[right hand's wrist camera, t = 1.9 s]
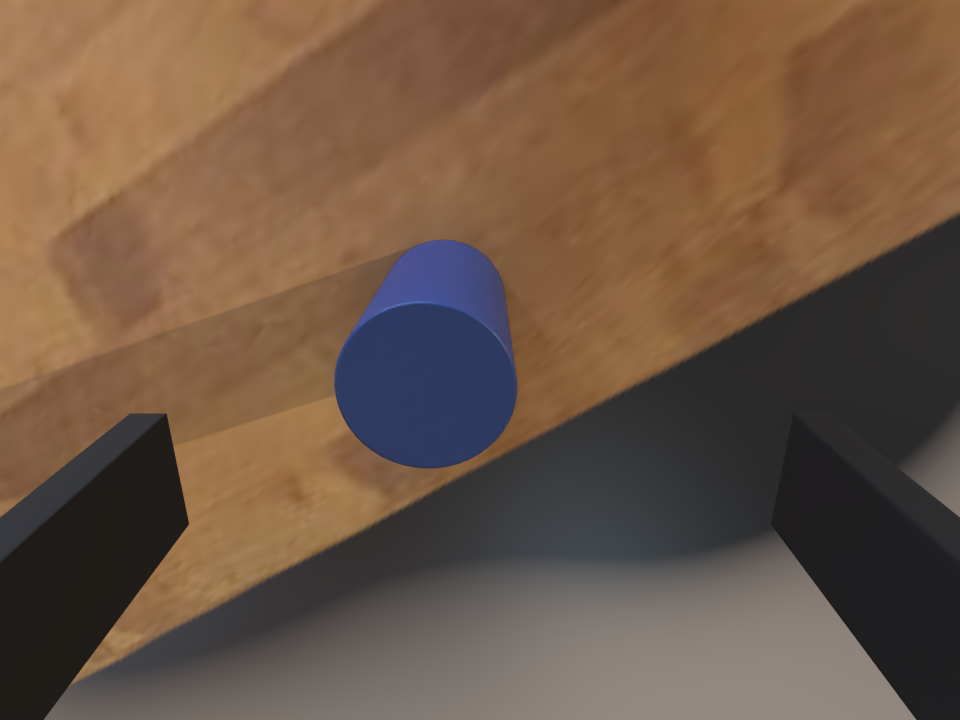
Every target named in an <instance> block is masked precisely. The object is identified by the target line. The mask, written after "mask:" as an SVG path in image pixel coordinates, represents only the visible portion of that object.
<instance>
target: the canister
mask: <svg viewBox="0 0 960 720" xmlns="http://www.w3.org/2000/svg"><path fill="white" fill-rule="evenodd" d="M335 393H336V399H337V402H338V406H339V409H340V411H341V414H342V416H343V418H344V420H345V421H346V423H347V425H348V427H349V428H350V429H351V431H352V432H353V433H354V434H355V436H356V437H357V438H358V439H359V440H360V441H361V442H362V443H363V444H364V445H366V446H367V447H368V448H369V449H371V450H372V451H373V452H375V453H377V454H378V455H380V456H382V457H384V458H386V459H388V460H390V461H393V462H396V463H399V464H402V465H406V466H410V467H417V468H440V467H447V466H451V465H455V464H459V463H461V462H464V461H467V460H469V459H471V458H473V457H475V456H476V455H478V454H480V453H481V452H483V451H484V450H485V449H487V448H488V447H489V446H490V445H491V444H492V443H493V442H494V441H496V439H497V438H498V437H499V436H500V435H501V433H502V432H503V431H504V429H505V427H506V426H507V424H508V422H509V420H510V418H511V416H512V414H513V410H514V407H515V403H516V396H517V378H516V370H515V363H514V356H513V349H512V342H511V335H510V328H509V321H508V314H507V306H506V299H505V292H504V287H503V283H502V280H501V278H500V275H499V273H498V272H497V270H496V268H495V267H494V265H493V264H492V263H491V262H490V260H489V259H488V258H487V257H485V256H484V255H483V254H482V253H481V252H479V251H478V250H476V249H475V248H473V247H471V246H469V245H466V244H464V243H460V242H456V241H450V240H436V241H430V242H426V243H423V244H420V245H418V246H416V247H414V248H412V249H411V250H409V251H407V252H406V253H405V254H404V255H403V256H401V258H400V259H399V260H398V261H397V262H396V263H395V265H394V266H393V268H392V269H391V271H390V272H389V274H388V275H387V277H386V279H385V280H384V282H383V283H382V285H381V286H380V288H379V290H378V291H377V293H376V294H375V296H374V298H373V299H372V301H371V302H370V304H369V305H368V307H367V309H366V310H365V312H364V313H363V315H362V317H361V318H360V320H359V321H358V323H357V324H356V326H355V328H354V329H353V331H352V332H351V334H350V336H349V337H348V339H347V340H346V342H345V344H344V346H343V348H342V350H341V352H340V354H339V357H338V360H337V364H336V370H335Z"/></svg>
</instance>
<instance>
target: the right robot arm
mask: <svg viewBox="0 0 960 720" xmlns="http://www.w3.org/2000/svg"><path fill="white" fill-rule="evenodd" d="M188 525H189V522H188V517H187V512H186V507H185V502H184V497H183V492H182V487H181V482H180V477H179V473H178V468H177V463H176V458H175V453H174V448H173V443H172V438H171V433H170V428H169V424H168V419H167V414H129V415H128V416H126V417H125V418H124V419H123V420H121V421H120V422H119V423H118V424H116V425H115V426H114V427H113V428H111V429H110V430H109V431H108V432H106V433H105V434H104V435H103V436H101V437H100V438H99V439H98V440H96V441H95V442H94V443H93V444H91V445H90V446H89V447H88V448H86V449H85V450H84V451H83V452H81V453H80V454H79V455H78V456H76V457H75V458H74V459H73V460H71V461H70V462H69V463H68V464H66V465H65V466H64V467H63V468H61V469H60V470H59V471H58V472H56V473H55V474H54V475H53V476H51V477H50V478H49V479H48V480H46V481H45V482H44V483H43V484H41V485H40V486H39V487H38V488H36V489H35V490H34V491H33V492H31V493H30V494H29V495H28V496H27V497H25V498H24V499H23V500H22V501H20V502H19V503H18V504H17V505H15V506H14V507H13V508H12V509H10V510H9V511H8V512H7V513H5V514H4V515H3V516H2V517H0V720H44V718H45V717H46V716H47V714H48V713H49V712H50V710H51V709H52V708H53V706H54V705H55V704H56V702H57V701H58V700H59V698H60V697H61V696H62V694H63V693H64V692H65V690H66V689H67V687H68V686H69V685H70V683H71V682H72V681H73V679H74V678H75V677H76V675H77V674H78V673H79V671H80V670H81V669H82V667H83V666H84V665H85V663H86V662H87V661H88V659H89V658H90V657H91V655H92V654H93V653H94V651H95V650H96V649H97V647H98V646H99V644H100V643H101V642H102V640H103V639H104V638H105V636H106V635H107V634H108V632H109V631H110V630H111V628H112V627H113V626H114V624H115V623H116V622H117V620H118V619H119V618H120V616H121V615H122V614H123V612H124V611H125V610H126V608H127V607H128V606H129V604H130V603H131V601H132V600H133V599H134V597H135V596H136V595H137V593H138V592H139V591H140V589H141V588H142V587H143V585H144V584H145V583H146V581H147V580H148V579H149V577H150V576H151V575H152V573H153V572H154V571H155V569H156V568H157V567H158V565H159V564H160V562H161V561H162V560H163V558H164V557H165V556H166V554H167V553H168V552H169V550H170V549H171V548H172V546H173V545H174V544H175V542H176V541H177V540H178V538H179V537H180V536H181V534H182V533H183V532H184V530H185V529H186V528H187V526H188ZM771 525H772V526H773V528H774V529H775V530H776V532H777V533H778V534H779V536H780V537H781V538H782V540H783V541H784V542H785V544H786V545H787V546H788V548H789V549H790V550H791V552H792V553H793V554H794V556H795V557H796V558H797V560H798V561H799V562H800V564H801V565H802V566H803V568H804V569H805V571H806V572H807V573H808V575H809V576H810V577H811V579H812V580H813V581H814V583H815V584H816V585H817V587H818V588H819V589H820V591H821V592H822V593H823V595H824V596H825V597H826V599H827V600H828V601H829V603H830V604H831V605H832V607H833V608H834V610H835V611H836V612H837V614H838V615H839V616H840V618H841V619H842V620H843V622H844V623H845V624H846V626H847V627H848V628H849V630H850V631H851V632H852V634H853V635H854V636H855V638H856V639H857V640H858V642H859V643H860V644H861V646H862V647H863V649H864V650H865V651H866V652H867V654H868V655H869V656H870V658H871V659H872V661H873V662H874V663H875V665H876V666H877V667H878V669H879V670H880V671H881V673H882V674H883V675H884V677H885V678H886V679H887V681H888V682H889V683H890V685H891V686H892V687H893V689H894V690H895V692H896V693H897V694H898V696H899V697H900V698H901V700H902V701H903V702H904V704H905V705H906V706H907V708H908V709H909V710H910V712H911V713H912V714H913V716H914V717H915V718H916V720H960V517H958V516H957V515H956V514H955V513H953V512H952V511H951V510H950V509H948V508H947V507H946V506H945V505H943V504H942V503H941V502H940V501H938V500H937V499H936V498H935V497H933V496H932V495H931V494H930V493H929V492H927V491H926V490H925V489H924V488H922V487H921V486H920V485H918V484H917V483H916V482H915V481H914V480H912V479H911V478H910V477H909V476H907V475H906V474H905V473H903V472H902V471H901V470H900V469H899V468H897V467H896V466H895V465H894V464H892V463H891V462H890V461H889V460H887V459H886V458H885V457H884V456H882V455H881V454H880V453H879V452H877V451H876V450H875V449H874V448H872V447H871V446H870V445H869V444H867V443H866V442H865V441H864V440H862V439H861V438H860V437H859V436H857V435H856V434H855V433H854V432H852V431H851V430H850V429H849V428H847V427H846V426H845V425H844V424H842V423H841V422H840V421H839V420H837V419H836V418H835V417H834V416H832V415H831V414H793V419H792V424H791V428H790V433H789V439H788V443H787V448H786V453H785V458H784V463H783V468H782V473H781V478H780V482H779V487H778V492H777V497H776V502H775V507H774V512H773V517H772V522H771Z"/></svg>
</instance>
